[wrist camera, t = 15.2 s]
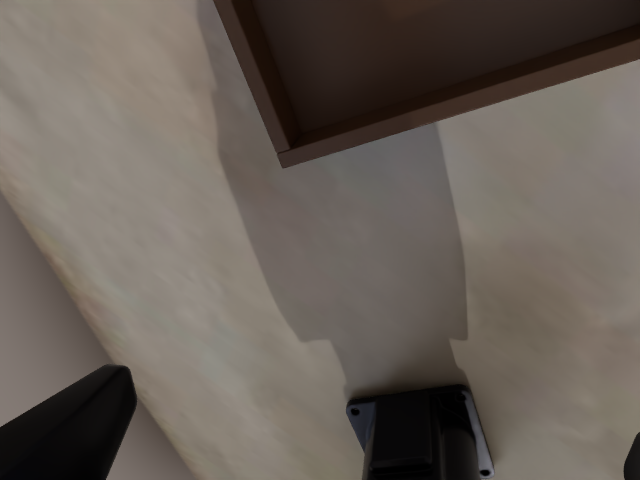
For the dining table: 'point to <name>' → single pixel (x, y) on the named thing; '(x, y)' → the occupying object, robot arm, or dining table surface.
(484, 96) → the tray
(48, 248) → the dining table surface
